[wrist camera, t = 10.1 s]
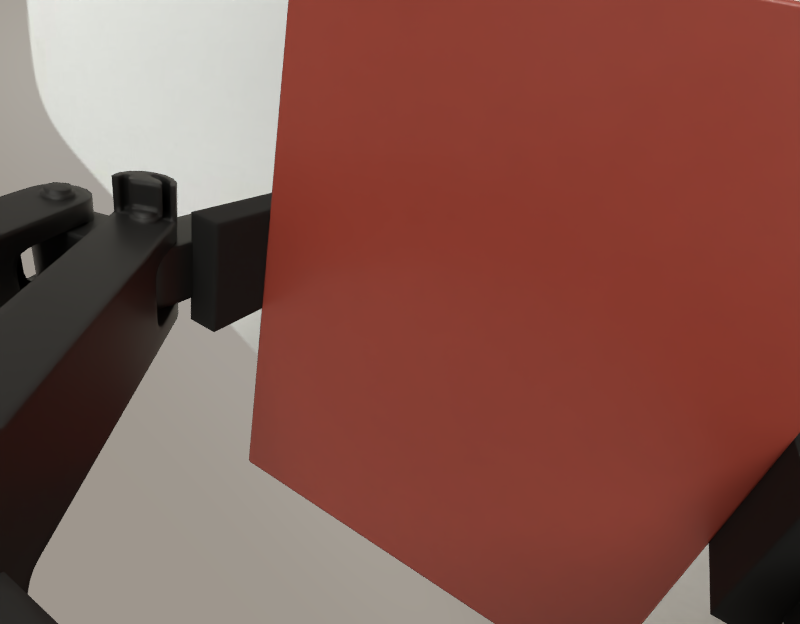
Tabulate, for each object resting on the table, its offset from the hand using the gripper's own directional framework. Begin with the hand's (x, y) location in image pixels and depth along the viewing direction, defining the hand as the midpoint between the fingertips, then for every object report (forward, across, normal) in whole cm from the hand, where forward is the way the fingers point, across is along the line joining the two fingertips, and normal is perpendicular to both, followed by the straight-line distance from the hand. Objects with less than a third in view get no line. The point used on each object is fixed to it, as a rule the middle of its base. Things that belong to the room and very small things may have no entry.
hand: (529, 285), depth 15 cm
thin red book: (-3, 0, 0) cm, 3 cm away
